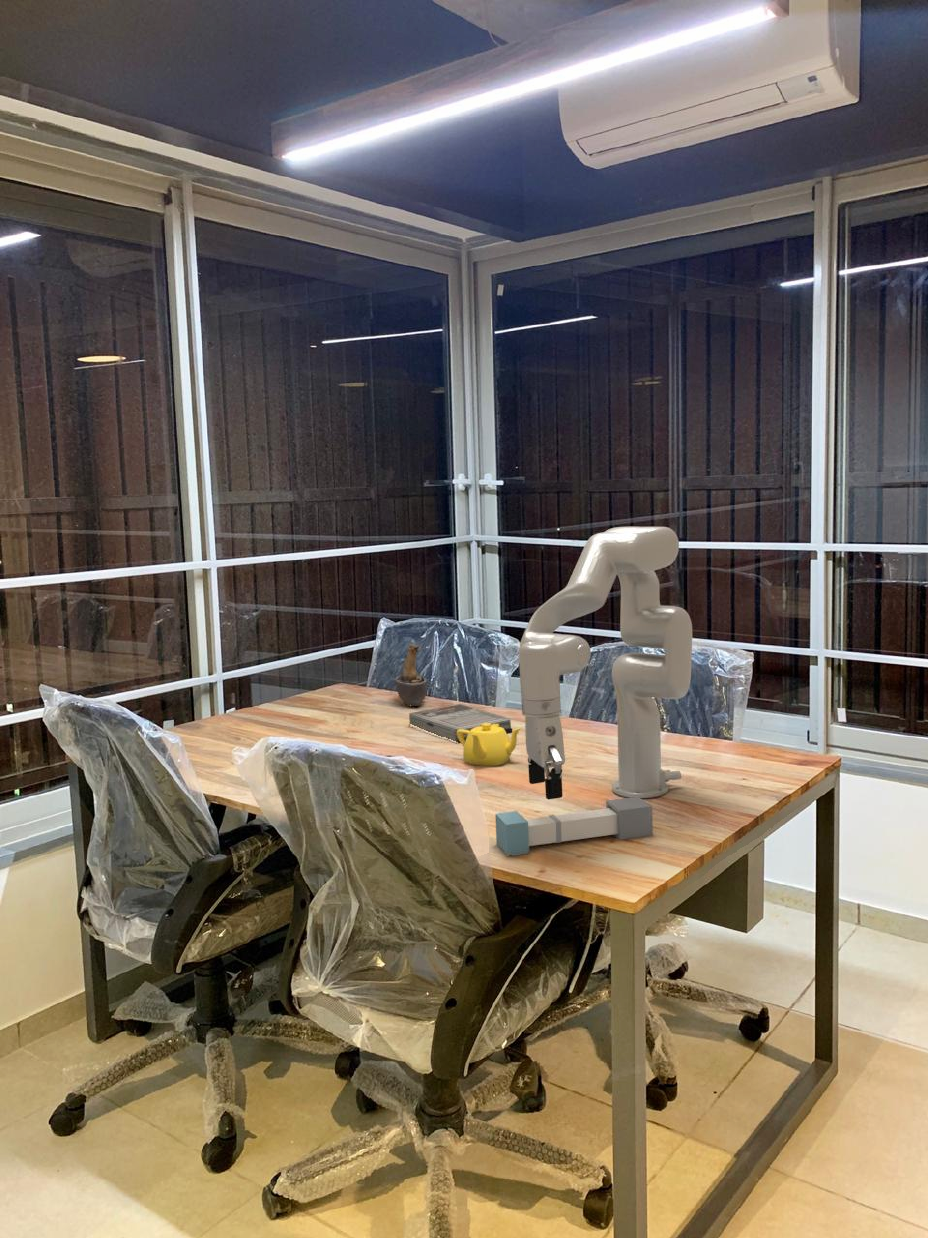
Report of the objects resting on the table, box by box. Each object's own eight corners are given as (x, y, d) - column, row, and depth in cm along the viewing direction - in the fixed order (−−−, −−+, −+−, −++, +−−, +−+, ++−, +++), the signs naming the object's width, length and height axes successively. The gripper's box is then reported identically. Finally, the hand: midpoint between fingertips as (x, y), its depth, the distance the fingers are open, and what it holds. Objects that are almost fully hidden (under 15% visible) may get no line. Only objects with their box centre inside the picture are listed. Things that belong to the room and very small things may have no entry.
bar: (619, 826, 203) (618, 806, 202) (627, 833, 199) (627, 812, 198) (506, 841, 197) (505, 821, 196) (512, 849, 193) (512, 828, 192)
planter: (419, 711, 316) (416, 649, 313) (377, 707, 325) (374, 646, 322) (446, 702, 328) (443, 641, 326) (405, 697, 337) (402, 639, 335)
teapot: (473, 772, 248) (472, 733, 247) (454, 759, 260) (452, 721, 259) (524, 764, 253) (522, 726, 252) (502, 751, 265) (501, 715, 264)
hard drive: (458, 745, 275) (458, 730, 274) (408, 728, 297) (407, 713, 297) (512, 734, 285) (512, 719, 284) (460, 718, 307) (459, 703, 307)
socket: (517, 841, 199) (516, 811, 198) (529, 853, 192) (528, 822, 191) (496, 844, 198) (495, 813, 197) (507, 856, 191) (506, 825, 190)
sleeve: (638, 824, 205) (637, 796, 205) (652, 835, 199) (652, 806, 198) (606, 829, 204) (606, 800, 203) (620, 839, 197) (619, 810, 197)
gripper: (575, 713, 186) (579, 801, 189) (544, 693, 202) (548, 774, 205) (537, 718, 184) (542, 807, 187) (508, 698, 201) (513, 780, 203)
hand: (545, 790), depth 196 cm, fingers open, 9 cm apart
